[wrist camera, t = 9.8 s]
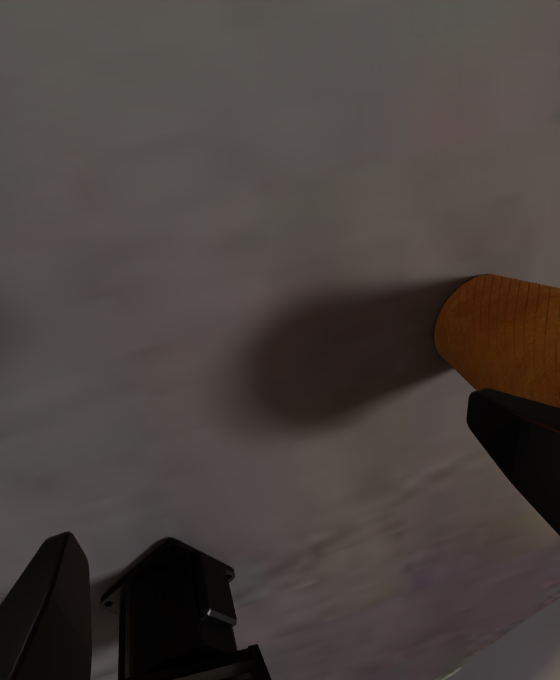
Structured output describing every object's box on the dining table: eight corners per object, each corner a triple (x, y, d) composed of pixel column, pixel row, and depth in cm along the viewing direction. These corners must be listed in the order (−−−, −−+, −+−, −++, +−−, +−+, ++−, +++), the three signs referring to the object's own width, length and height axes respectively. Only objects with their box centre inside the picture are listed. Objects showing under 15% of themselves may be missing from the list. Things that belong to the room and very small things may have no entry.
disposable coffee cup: (407, 399, 28) (569, 551, 18) (415, 263, 23) (638, 362, 13) (520, 364, 30) (723, 482, 20) (548, 235, 25) (827, 300, 15)
